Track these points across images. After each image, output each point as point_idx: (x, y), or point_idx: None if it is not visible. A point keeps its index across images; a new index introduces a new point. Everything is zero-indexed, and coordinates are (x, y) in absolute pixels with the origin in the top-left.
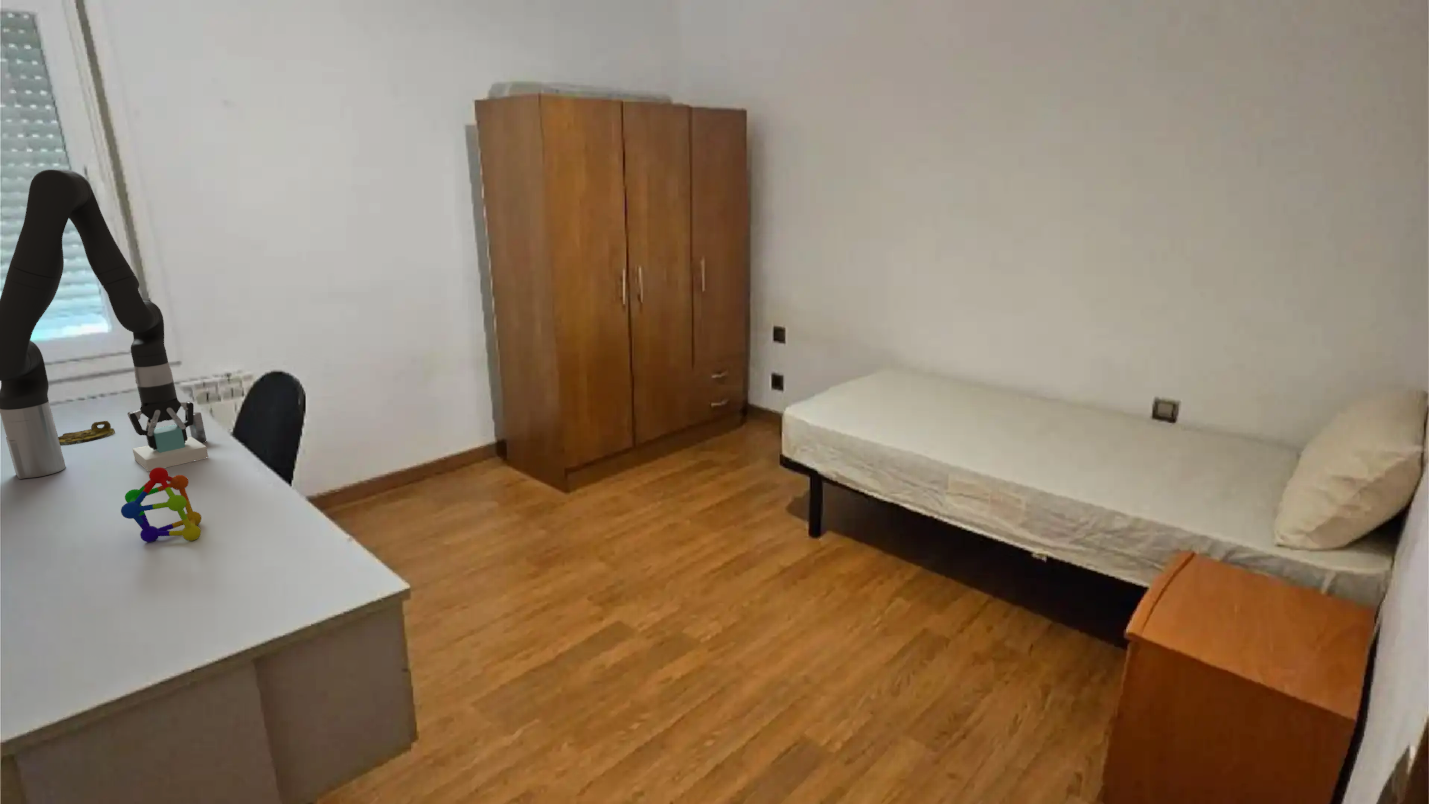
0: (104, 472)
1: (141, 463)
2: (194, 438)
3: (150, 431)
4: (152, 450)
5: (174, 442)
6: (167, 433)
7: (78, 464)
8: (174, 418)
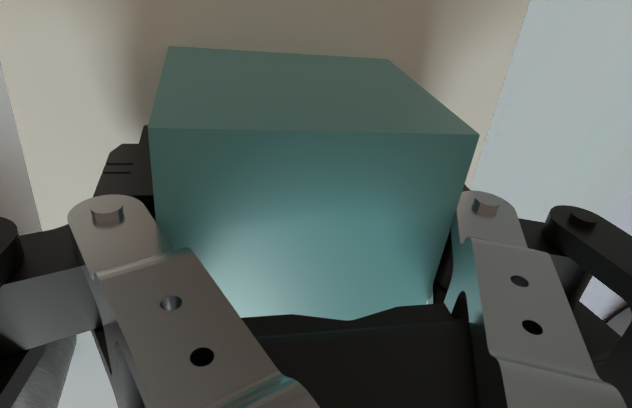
0: (588, 155)
1: None
2: (51, 352)
3: (493, 223)
4: None
5: (263, 71)
6: (337, 122)
7: None
8: (200, 304)
